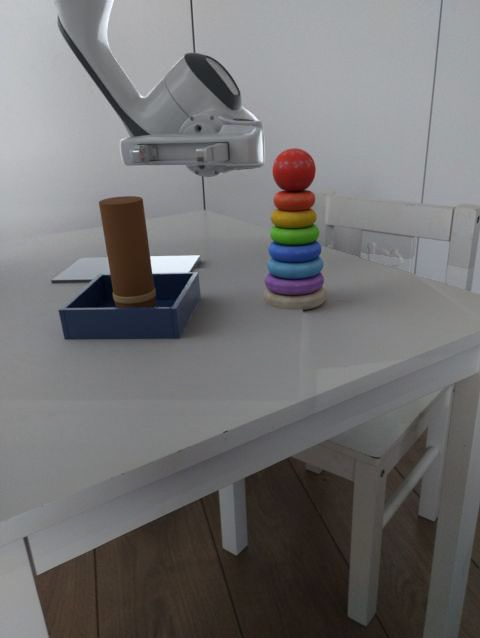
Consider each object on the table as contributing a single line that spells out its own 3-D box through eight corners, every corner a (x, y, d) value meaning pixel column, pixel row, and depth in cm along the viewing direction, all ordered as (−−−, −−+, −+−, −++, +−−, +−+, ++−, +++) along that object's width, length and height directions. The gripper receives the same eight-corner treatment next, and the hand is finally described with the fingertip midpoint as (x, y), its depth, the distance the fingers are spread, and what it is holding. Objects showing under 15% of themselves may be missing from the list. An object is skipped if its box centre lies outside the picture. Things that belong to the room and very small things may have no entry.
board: (52, 286, 84) (50, 280, 83) (82, 263, 95) (80, 257, 94) (185, 284, 82) (185, 277, 82) (200, 261, 93) (200, 255, 92)
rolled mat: (111, 324, 67) (91, 204, 62) (123, 309, 72) (106, 196, 66) (152, 324, 67) (136, 203, 61) (162, 309, 71) (148, 195, 66)
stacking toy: (333, 310, 70) (335, 150, 62) (270, 316, 69) (263, 154, 61) (317, 289, 77) (317, 144, 70) (259, 295, 76) (253, 147, 69)
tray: (65, 344, 64) (58, 310, 63) (104, 303, 76) (99, 273, 74) (180, 343, 63) (176, 308, 61) (201, 302, 75) (198, 272, 73)
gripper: (143, 124, 86) (92, 132, 74) (273, 119, 80) (240, 127, 68) (149, 167, 89) (100, 181, 77) (274, 166, 83) (243, 181, 71)
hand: (167, 156), depth 73 cm, fingers open, 8 cm apart
